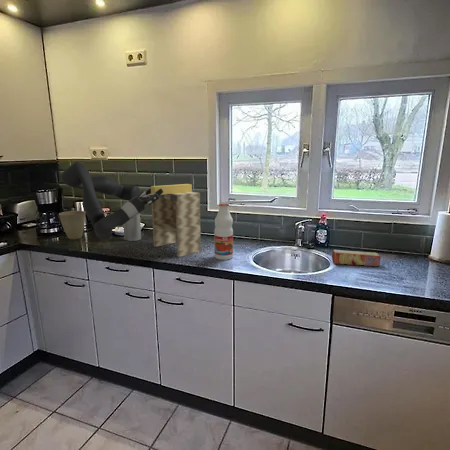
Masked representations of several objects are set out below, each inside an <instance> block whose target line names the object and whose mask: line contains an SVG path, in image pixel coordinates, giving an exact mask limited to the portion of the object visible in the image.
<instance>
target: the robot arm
mask: <svg viewBox="0 0 450 450" xmlns="http://www.w3.org/2000/svg"><path fill="white" fill-rule="evenodd" d="M60 179H61V180H62V181H63V183H64V184H65V185H67V186H68V187H70V188H73V189H74V188H75V189H79V190H82V206H83V209H84V211H85V212H86V214H85V215H86V216H87V217H88V219H89V221H90V223H91V226H92V229H93V231H94V232H95V233H94V234H95V235H96V237H97V238H99V239H100V240H102V241H103V240H105V241H107V240H109V239H110V238H111V237H112V234H113V230H114V228H115V227H116V226H122V225H123V228H124V234H123V240H124V241H127V242H136V241H140V240H142V230H141V228H142V227H141V213H142V212H143V211H144V210H145V207H146V206H145V205H147V204H148V206H152V203H154V202H155V201H156V200H158V199H159V197H158V196H159V195H161V194H162V193H163V190H162V189H159V190H158V191H156V192H155V193H153V194H151V187H150V188H148V189H147V190H143V191H142V190H141V189H140V187H139V186H138V185H135V184H134V185H133V184H132V185H129V184H120V183H117V182H116V180H115V179H113V178H111V177H108V176H105V175H94V176H91V173H90V172H89V169H88V168H87V167H86V165H85V164H83V163H81V162H80V161H75V162H73V163H72V164H70V165H69V166H68V167H66V169H65V170H64V171H62V173H61V175H60ZM96 192H97V193H99V194H103V195H106V196H114V197H117V198H119V199H121V200H123V201H126V202H125V203H123V205H121V206H120V208H118V209H115V211H114V212H112V213H111V214H108V215H105V212H104V209H103V207H102V206H101V204H100V202H99V199H98V196H97V194H96Z"/></svg>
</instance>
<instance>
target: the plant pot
mask: <svg viewBox="0 0 450 450" xmlns="http://www.w3.org/2000/svg"><path fill="white" fill-rule="evenodd" d="M86 215H87V214H86V212H85V210H70V211H62V212H59V213H58V217H59V219H60V223H61V225H62V226H61V227H63V230H64V232H65V233H64V234H65V235H66V236H67V239H69V240H78V239H81V238H82V237H83V234H84V229H85V223H86Z"/></svg>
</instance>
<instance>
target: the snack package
mask: <svg viewBox="0 0 450 450" xmlns="http://www.w3.org/2000/svg"><path fill="white" fill-rule="evenodd" d="M331 260H332V263H333V264H334V265H344V264H347V265H346V266H348V265H349V266H359V265H364V266H363V267H371V266H379V267H380V264H381V255H380V254H379V253H377V252H370V251H369V252H368V251H358V250H356V251H354V250H342V249H332V254H331Z"/></svg>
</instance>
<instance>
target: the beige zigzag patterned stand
mask: <svg viewBox="0 0 450 450" xmlns="http://www.w3.org/2000/svg"><path fill="white" fill-rule="evenodd" d="M158 197H159V199H158V200H156V201H155V202H154V203H152V204H151V219H152V240H153V241H152V242H153V244H152V245H153V247H160V246H164V245H165V246H166V245H169V244H173V243H176V256H177V257H185V256H189V255H192V254H196V253H197V254H198V253H201V247H202V245H201V243H202V241H201V193H200V192H198V191H197V192H196V191H192V192H186V193H174V194H163V195H159V196H158Z"/></svg>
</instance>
